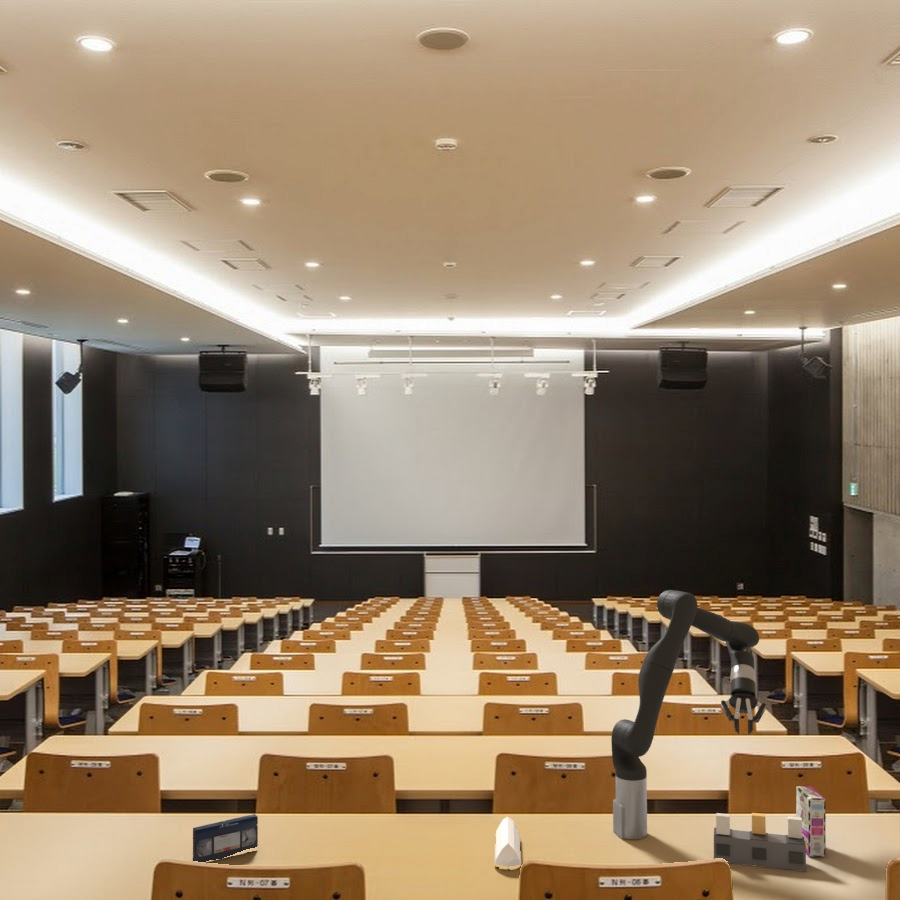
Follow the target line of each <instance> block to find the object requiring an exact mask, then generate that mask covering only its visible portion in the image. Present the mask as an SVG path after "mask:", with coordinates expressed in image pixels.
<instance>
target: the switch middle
mask: <svg viewBox="0 0 900 900" xmlns="http://www.w3.org/2000/svg"><path fill="white" fill-rule="evenodd" d="M766 824H767V823H766V814H765V813H757V812H751V831H752V833H753V834H763V835H766V833H767V832H766Z"/></svg>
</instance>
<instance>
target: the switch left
mask: <svg viewBox="0 0 900 900" xmlns="http://www.w3.org/2000/svg"><path fill="white" fill-rule="evenodd" d="M730 816H731V814H728V813H719V812H716V813H715V818H716V819H715V823H716V824H715V826H716V827H715V828H716V834H724V835H730V829H731V823H730V822H731V820H730V819H731V817H730Z"/></svg>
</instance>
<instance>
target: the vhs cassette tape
mask: <svg viewBox="0 0 900 900" xmlns="http://www.w3.org/2000/svg"><path fill="white" fill-rule="evenodd" d="M258 821H259V818H258V815H256V814H255V813H253V814H250V815H244V816H240V817H235V818H231V819H227V820H223V821H222V820H221V821H217V822H213V823H208V824H205V825H201V826H195V827H192V862H193V861H198V862H206V861H209V860H216V859H222V858H224V857H227V856H230V855H233V854H235V853H237V852H241V851H243V850H246V849H250V848H255V847H257V846H258V847H259V844H258V841H259V836H258V835H259V834H258V833H259V832H258V828H259V826H258V823H259V822H258ZM222 860H223V859H222Z"/></svg>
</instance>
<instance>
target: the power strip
mask: <svg viewBox="0 0 900 900" xmlns="http://www.w3.org/2000/svg"><path fill="white" fill-rule="evenodd" d="M806 856H807V854H806V844H805V839H804V837H802V838H792V837H788V834H785V835H784V834H777V833H776V834H775V833H768V832H766V835H763V834H753V833H752V830H750V831H747V830H746V831H745V830H740V829H739V830H737V829H733V828H730V835H724V834H716V827H714V828H713V859H714V858H723V859H725V860H726V861H728V862H729V863H728V864H734V865H735V864H736V865H743V864H745V865H744V866H752V865H756V866H755V867H760V866H763V867H762V868H769V867H771V869H778V868H779V869H780V868H782V869H781V870H787V869H790V870H789V871H796V870H798V872H807V857H806Z"/></svg>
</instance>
